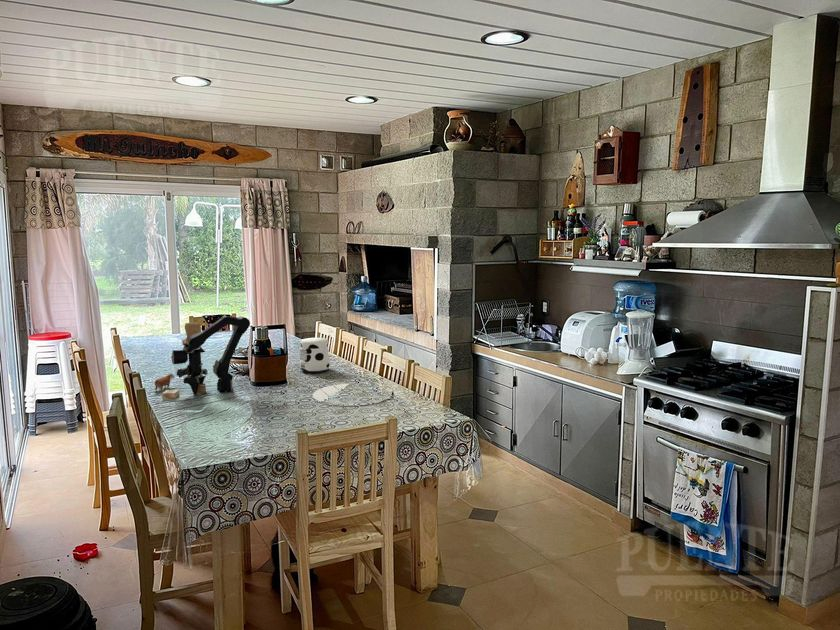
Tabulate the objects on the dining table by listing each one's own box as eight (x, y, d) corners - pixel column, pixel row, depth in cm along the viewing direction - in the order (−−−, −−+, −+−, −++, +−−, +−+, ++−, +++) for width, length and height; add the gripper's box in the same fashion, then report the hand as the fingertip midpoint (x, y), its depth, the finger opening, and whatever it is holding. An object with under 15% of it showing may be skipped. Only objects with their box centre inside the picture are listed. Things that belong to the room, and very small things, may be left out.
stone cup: (198, 340, 443) (197, 320, 440) (205, 342, 434) (204, 322, 432) (177, 343, 432) (176, 322, 430) (184, 345, 424) (183, 324, 422)
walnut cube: (205, 393, 302) (205, 383, 301) (206, 395, 297) (205, 385, 296) (195, 394, 300) (194, 384, 299) (195, 396, 295) (194, 386, 295)
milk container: (333, 367, 356) (332, 337, 353) (326, 374, 339) (325, 343, 336) (304, 367, 358) (303, 337, 355) (295, 374, 341) (294, 342, 338)
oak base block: (179, 395, 294) (179, 389, 293) (175, 399, 288) (174, 393, 287) (166, 396, 293) (166, 390, 293) (162, 399, 287) (162, 393, 287)
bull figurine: (177, 387, 313) (176, 372, 312) (159, 394, 300) (158, 378, 299) (170, 387, 314) (169, 371, 313) (152, 393, 301) (151, 377, 300)
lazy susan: (377, 382, 324) (377, 375, 324) (407, 400, 289) (407, 393, 289) (303, 390, 307) (303, 384, 307) (325, 411, 272) (325, 404, 272)
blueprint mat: (191, 396, 296) (191, 394, 296) (184, 402, 286) (184, 400, 286) (166, 396, 295) (166, 394, 295) (158, 402, 286) (158, 400, 285)
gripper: (184, 358, 305) (186, 388, 307) (171, 366, 286) (173, 398, 288) (207, 357, 305) (208, 387, 307) (195, 366, 287) (197, 398, 289)
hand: (196, 393), depth 298 cm, fingers closed on walnut cube, 5 cm apart
